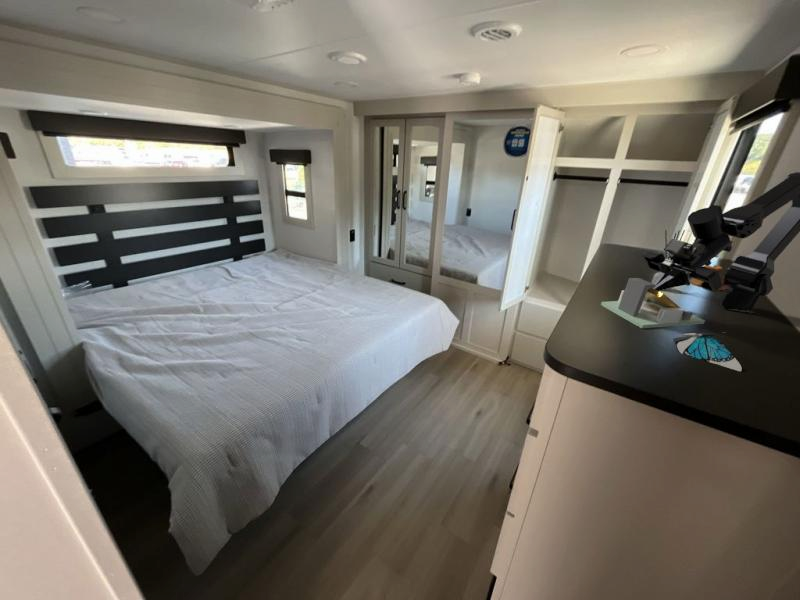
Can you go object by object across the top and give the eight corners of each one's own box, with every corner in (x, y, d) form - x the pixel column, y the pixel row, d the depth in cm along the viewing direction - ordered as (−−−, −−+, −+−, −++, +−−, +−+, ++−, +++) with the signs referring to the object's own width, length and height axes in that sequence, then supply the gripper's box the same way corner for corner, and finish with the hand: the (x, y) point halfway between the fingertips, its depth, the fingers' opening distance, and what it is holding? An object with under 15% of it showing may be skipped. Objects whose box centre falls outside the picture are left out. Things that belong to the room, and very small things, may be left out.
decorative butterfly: (670, 323, 77) (726, 324, 72) (668, 346, 79) (722, 349, 74) (682, 343, 68) (747, 345, 64) (680, 368, 70) (742, 372, 66)
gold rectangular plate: (654, 297, 94) (630, 279, 89) (687, 313, 85) (663, 293, 80) (650, 301, 94) (627, 283, 90) (683, 317, 85) (659, 297, 81)
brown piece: (695, 288, 110) (704, 268, 107) (679, 277, 120) (687, 259, 117) (736, 293, 107) (747, 273, 104) (715, 281, 117) (725, 263, 114)
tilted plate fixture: (656, 301, 97) (669, 270, 93) (703, 323, 85) (720, 289, 81) (600, 304, 94) (611, 272, 89) (641, 328, 81) (656, 292, 77)
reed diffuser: (661, 293, 104) (687, 233, 96) (638, 286, 109) (660, 228, 101) (672, 287, 110) (697, 230, 101) (650, 280, 115) (672, 225, 106)
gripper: (660, 222, 88) (614, 260, 91) (736, 238, 72) (677, 285, 74) (672, 249, 93) (627, 284, 96) (745, 270, 76) (689, 312, 79)
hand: (652, 290), depth 86 cm, fingers closed, pressing on gold rectangular plate
